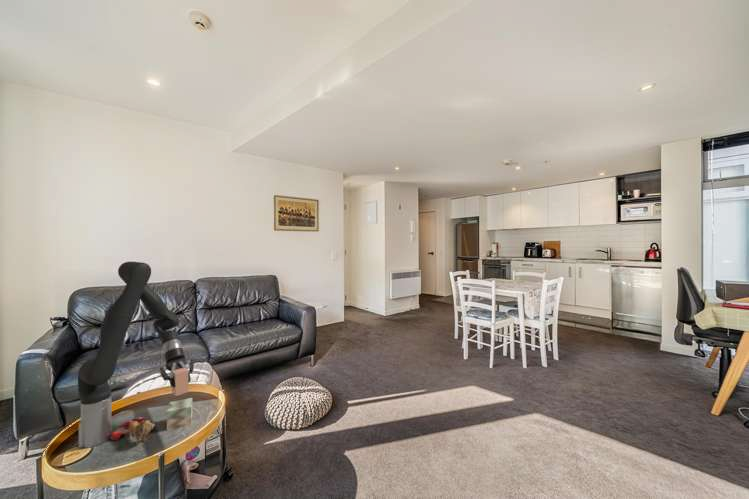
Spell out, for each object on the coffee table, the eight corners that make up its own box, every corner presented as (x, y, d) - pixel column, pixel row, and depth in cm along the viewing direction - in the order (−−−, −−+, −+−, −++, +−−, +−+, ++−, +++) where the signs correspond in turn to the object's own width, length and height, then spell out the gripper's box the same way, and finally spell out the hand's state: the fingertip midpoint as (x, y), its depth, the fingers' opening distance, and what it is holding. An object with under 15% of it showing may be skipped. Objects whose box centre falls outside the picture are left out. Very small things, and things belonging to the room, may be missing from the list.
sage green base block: (166, 430, 128) (166, 411, 128) (169, 419, 136) (169, 402, 136) (191, 424, 133) (191, 406, 133) (192, 414, 141) (192, 397, 141)
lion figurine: (156, 440, 122) (156, 418, 122) (142, 448, 117) (142, 425, 117) (132, 432, 127) (132, 411, 127) (118, 440, 122) (118, 418, 122)
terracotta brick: (175, 396, 131) (175, 373, 131) (172, 392, 134) (172, 370, 134) (188, 391, 135) (188, 370, 135) (184, 388, 138) (184, 367, 138)
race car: (115, 443, 120) (115, 433, 120) (106, 440, 122) (106, 430, 122) (148, 424, 133) (148, 415, 133) (139, 422, 135) (139, 413, 135)
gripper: (156, 351, 134) (164, 386, 126) (192, 343, 144) (201, 375, 137) (153, 360, 137) (161, 394, 130) (188, 351, 148) (197, 382, 140)
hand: (181, 384), depth 133 cm, fingers closed on terracotta brick, 5 cm apart
